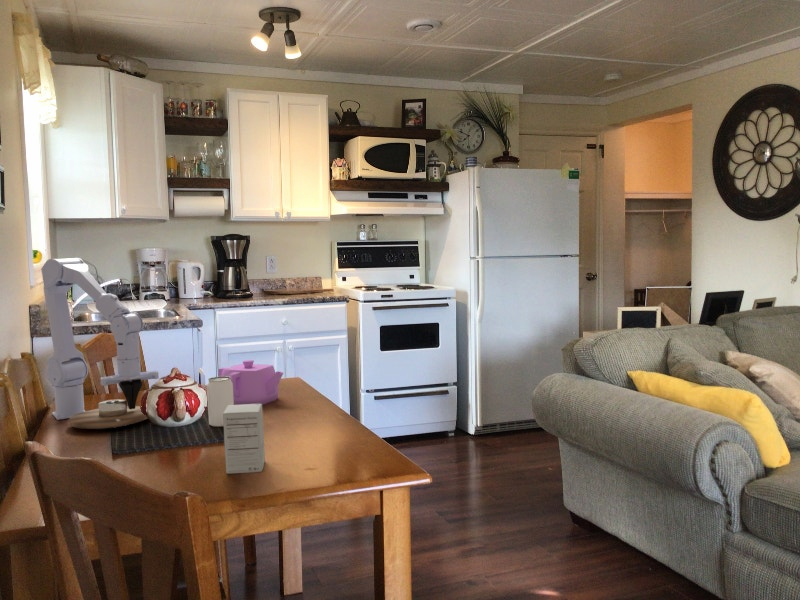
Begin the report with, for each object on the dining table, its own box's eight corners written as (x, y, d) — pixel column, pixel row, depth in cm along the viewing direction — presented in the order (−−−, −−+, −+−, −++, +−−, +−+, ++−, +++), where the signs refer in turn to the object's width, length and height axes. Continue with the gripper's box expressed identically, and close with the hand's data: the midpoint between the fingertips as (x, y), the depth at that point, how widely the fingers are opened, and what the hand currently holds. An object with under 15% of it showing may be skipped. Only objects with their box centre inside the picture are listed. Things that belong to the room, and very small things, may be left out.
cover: (96, 414, 189) (95, 401, 189) (123, 409, 193) (122, 397, 193) (102, 418, 183) (101, 405, 183) (130, 414, 187) (129, 401, 187)
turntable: (63, 417, 191) (63, 413, 190) (140, 406, 202) (140, 402, 202) (77, 433, 174) (76, 428, 174) (159, 419, 185) (159, 415, 185)
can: (228, 427, 180) (225, 380, 179) (204, 426, 182) (202, 380, 181) (238, 421, 187) (236, 376, 186) (215, 420, 188) (213, 375, 187)
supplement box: (230, 463, 150) (227, 404, 149) (265, 461, 151) (263, 402, 150) (224, 474, 143) (221, 412, 142) (262, 472, 144) (259, 410, 143)
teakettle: (216, 399, 215) (214, 359, 214) (271, 393, 222) (270, 354, 221) (226, 410, 200) (224, 367, 199) (285, 403, 206) (283, 361, 205)
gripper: (103, 363, 182) (106, 415, 183) (160, 357, 190) (163, 406, 191) (97, 360, 188) (100, 410, 189) (153, 354, 196) (156, 402, 197)
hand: (131, 408), depth 191 cm, fingers closed
